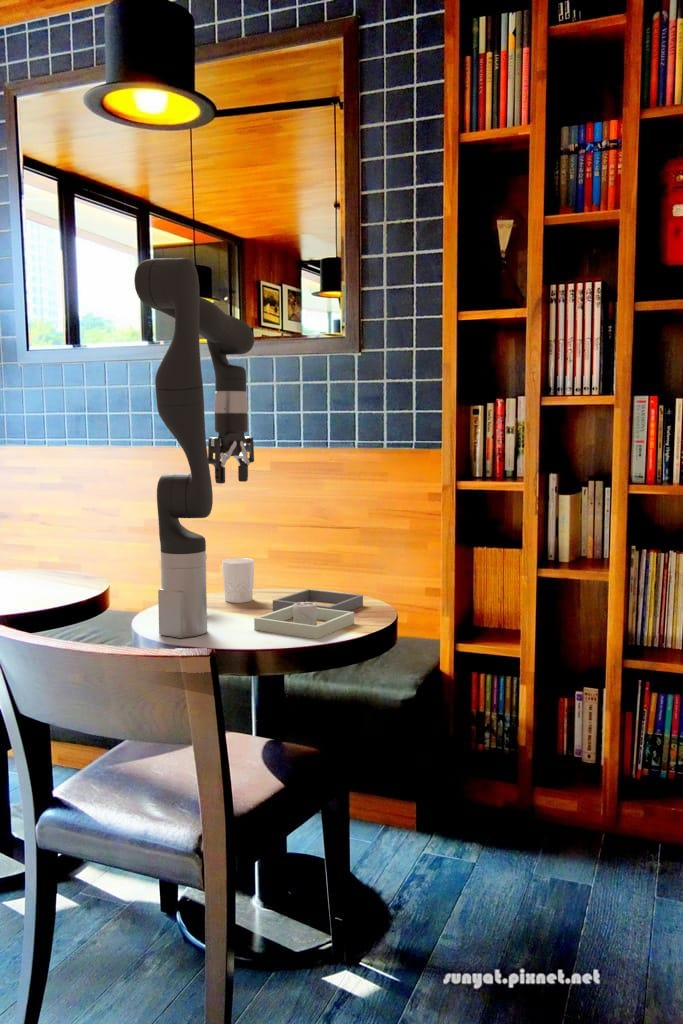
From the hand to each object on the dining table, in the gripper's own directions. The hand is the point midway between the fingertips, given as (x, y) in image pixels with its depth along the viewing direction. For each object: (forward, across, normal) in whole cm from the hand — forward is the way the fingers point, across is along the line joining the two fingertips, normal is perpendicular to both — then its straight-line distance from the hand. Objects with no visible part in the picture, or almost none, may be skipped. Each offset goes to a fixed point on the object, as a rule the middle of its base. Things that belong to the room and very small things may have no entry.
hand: (232, 482), depth 190 cm
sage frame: (+30, -5, -23) cm, 38 cm away
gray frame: (+30, +12, -16) cm, 36 cm away
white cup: (+30, +10, +6) cm, 32 cm away
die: (+30, -5, -23) cm, 38 cm away
